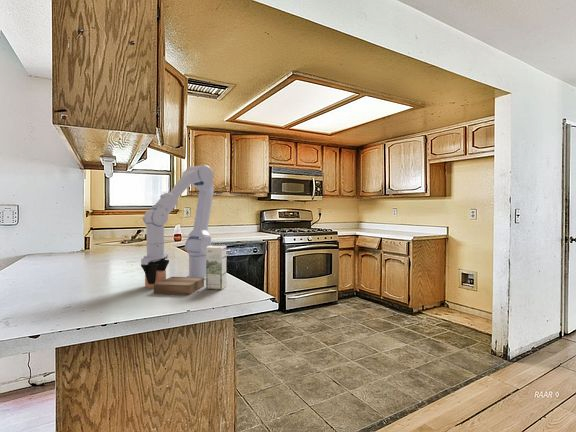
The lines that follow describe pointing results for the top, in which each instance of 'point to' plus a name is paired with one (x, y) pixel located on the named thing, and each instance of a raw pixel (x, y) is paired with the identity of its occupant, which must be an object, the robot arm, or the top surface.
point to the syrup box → (216, 267)
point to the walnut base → (179, 285)
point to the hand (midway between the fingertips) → (155, 281)
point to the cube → (159, 277)
